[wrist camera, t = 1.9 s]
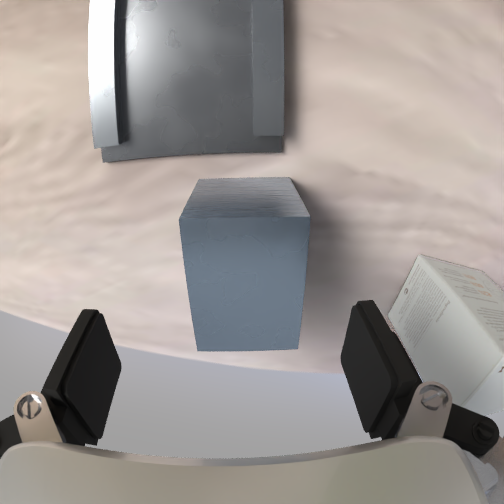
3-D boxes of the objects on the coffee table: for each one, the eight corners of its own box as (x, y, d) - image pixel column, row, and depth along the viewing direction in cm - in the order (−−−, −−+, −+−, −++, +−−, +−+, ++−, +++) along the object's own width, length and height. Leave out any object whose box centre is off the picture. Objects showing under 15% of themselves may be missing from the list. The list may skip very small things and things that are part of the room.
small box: (384, 314, 22) (440, 428, 13) (417, 250, 19) (504, 357, 10) (453, 322, 23) (509, 411, 14) (483, 269, 21) (557, 353, 11)
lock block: (289, 177, 17) (310, 216, 12) (284, 283, 20) (297, 349, 15) (199, 178, 17) (178, 219, 12) (207, 284, 20) (197, 351, 15)
